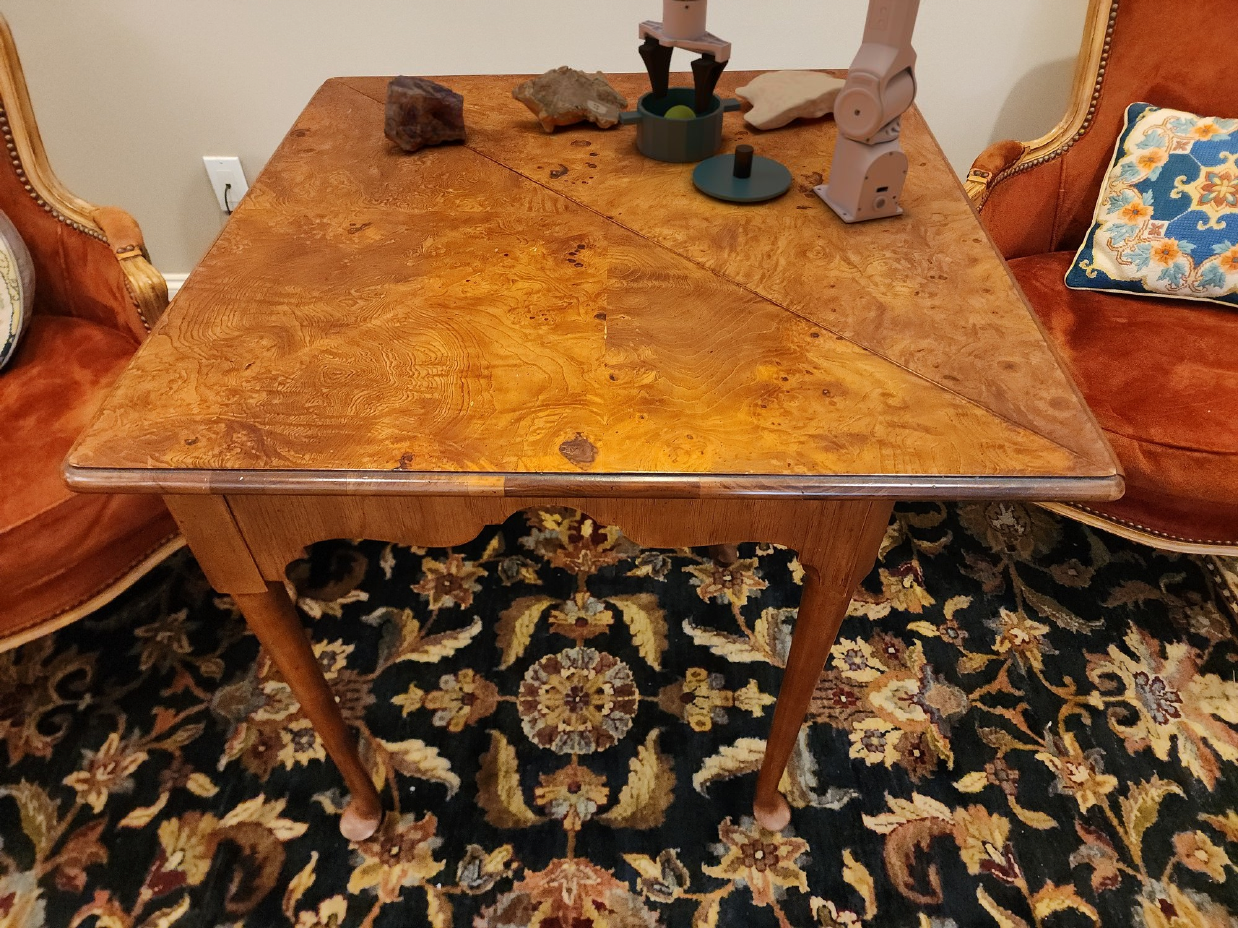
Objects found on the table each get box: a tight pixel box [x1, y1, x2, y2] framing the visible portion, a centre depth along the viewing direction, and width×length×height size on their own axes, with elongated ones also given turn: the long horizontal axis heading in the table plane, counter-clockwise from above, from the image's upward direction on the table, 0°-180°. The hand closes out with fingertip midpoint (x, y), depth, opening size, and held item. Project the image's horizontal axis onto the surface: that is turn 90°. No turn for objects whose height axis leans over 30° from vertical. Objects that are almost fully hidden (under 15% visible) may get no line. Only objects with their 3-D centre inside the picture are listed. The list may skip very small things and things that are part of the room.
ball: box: [664, 106, 696, 119], centre depth 109 cm, size 5×5×5 cm
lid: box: [691, 143, 793, 203], centre depth 101 cm, size 13×13×5 cm
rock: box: [383, 74, 467, 152], centre depth 110 cm, size 12×9×10 cm
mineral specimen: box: [511, 65, 629, 134], centre depth 115 cm, size 13×7×15 cm
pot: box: [618, 86, 742, 164], centre depth 109 cm, size 12×18×6 cm
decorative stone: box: [734, 69, 846, 131], centre depth 118 cm, size 21×5×15 cm
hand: (680, 104), depth 107 cm, fingers open, 7 cm apart
